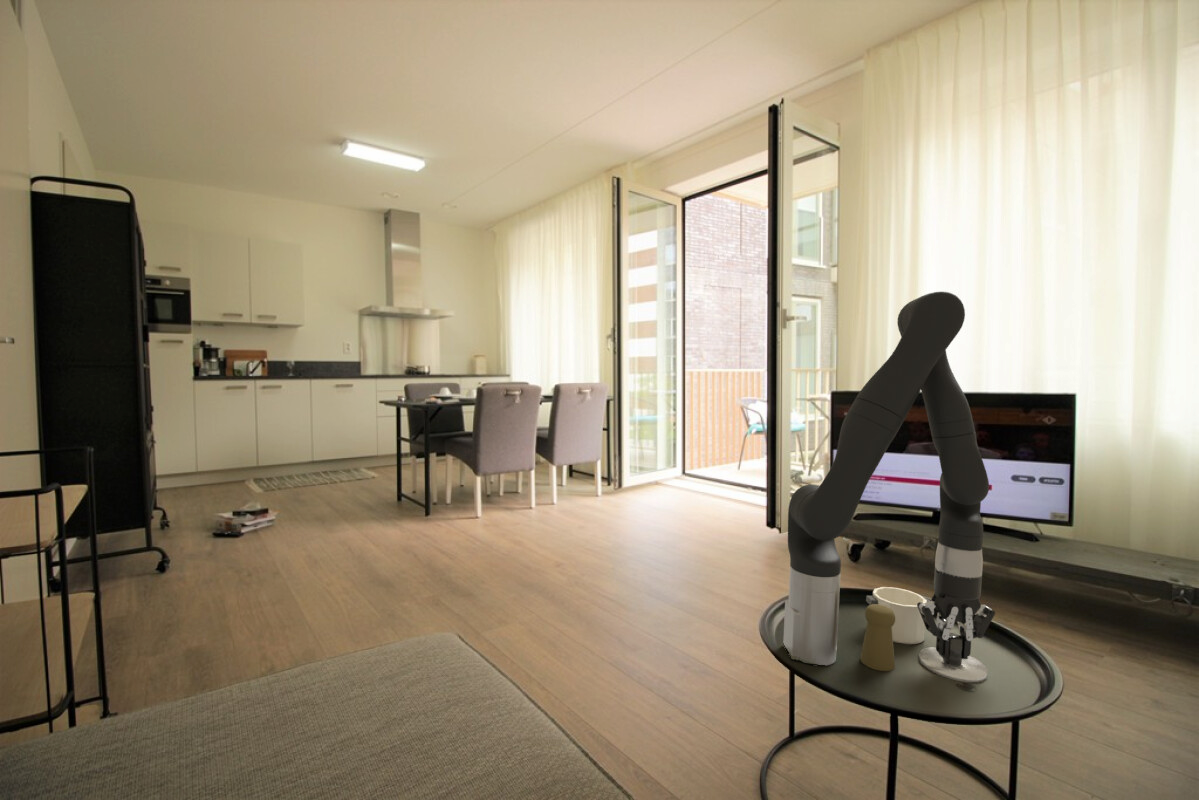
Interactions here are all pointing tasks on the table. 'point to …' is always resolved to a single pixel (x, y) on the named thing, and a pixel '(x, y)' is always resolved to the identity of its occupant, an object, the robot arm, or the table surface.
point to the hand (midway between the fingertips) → (952, 656)
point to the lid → (953, 662)
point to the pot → (902, 613)
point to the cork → (878, 638)
